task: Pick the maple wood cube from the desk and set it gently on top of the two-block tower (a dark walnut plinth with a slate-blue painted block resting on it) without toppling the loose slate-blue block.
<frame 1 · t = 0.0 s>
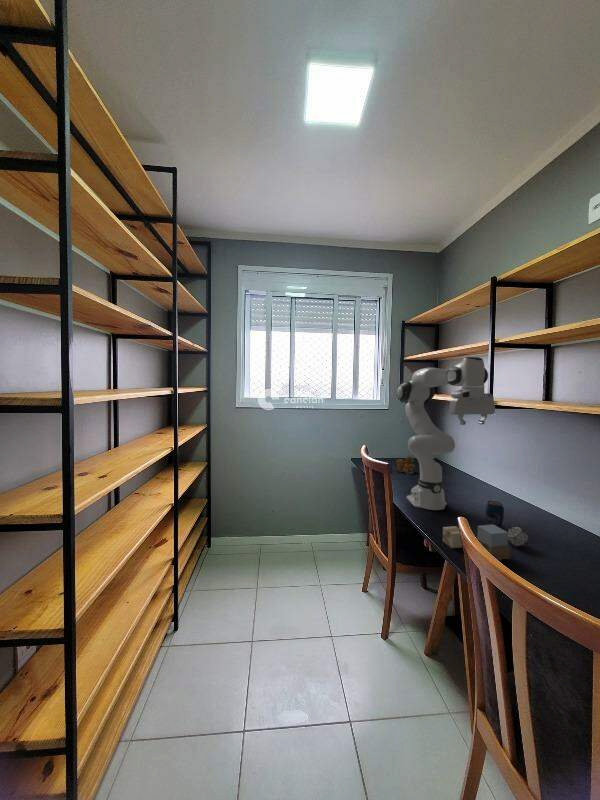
hand: (472, 424, 138), 48 cm above the table, fingers open, 8 cm apart
game die: (516, 546, 127), on the table
stuffed squirrel: (405, 473, 237), on the table
maple block: (453, 544, 129), on the table
walnut plinth: (491, 554, 120), on the table
soda can: (494, 529, 142), on the table
slate block: (492, 541, 120), point 5 cm above the table, touching walnut plinth
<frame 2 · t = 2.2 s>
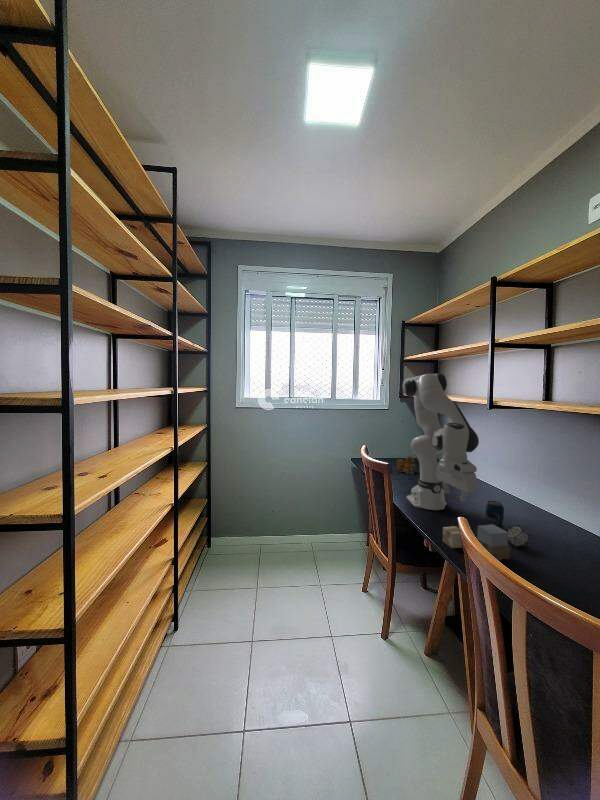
hand: (454, 496, 128), 20 cm above the table, fingers open, 8 cm apart
nothing on the table moved.
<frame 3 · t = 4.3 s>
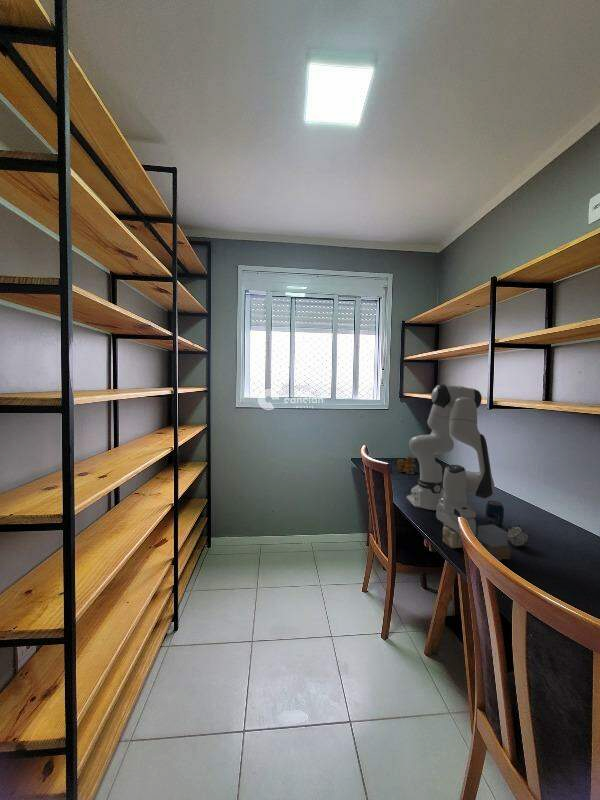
hand: (454, 538, 128), 2 cm above the table, fingers closed on maple block, 6 cm apart
maple block: (453, 543, 129), on the table, touching gripper
everything else where it was.
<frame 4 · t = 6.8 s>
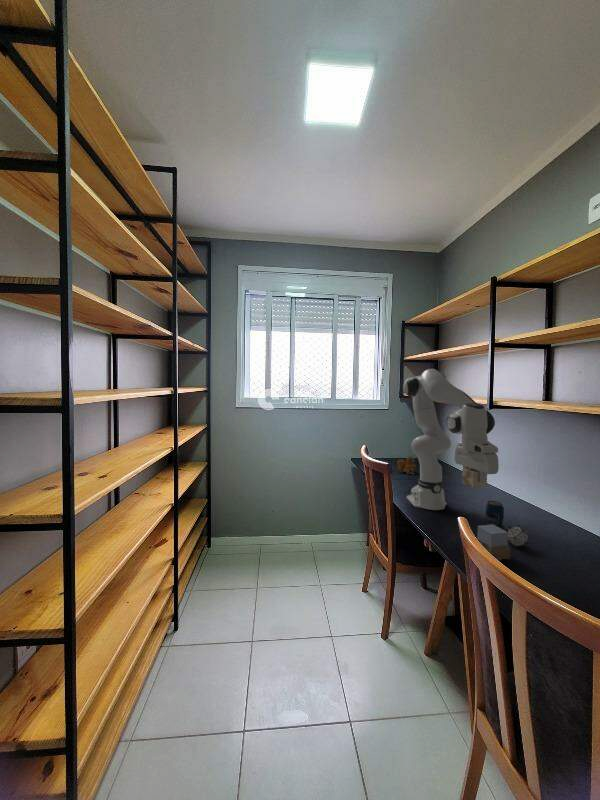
hand: (474, 480, 123), 28 cm above the table, fingers closed on maple block, 6 cm apart
maple block: (474, 485, 123), point 26 cm above the table, touching gripper
everything else where it was.
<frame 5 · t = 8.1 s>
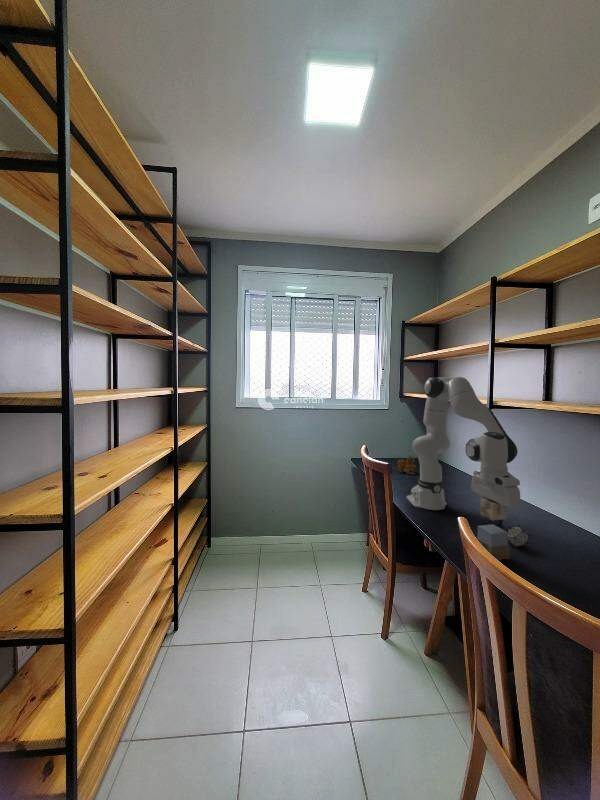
hand: (493, 511, 120), 17 cm above the table, fingers closed on maple block, 6 cm apart
maple block: (493, 516, 120), point 15 cm above the table, touching gripper
when the fingers open (13 cm above the table, at t = 9.4 s): maple block stays where it is, resting on slate block.
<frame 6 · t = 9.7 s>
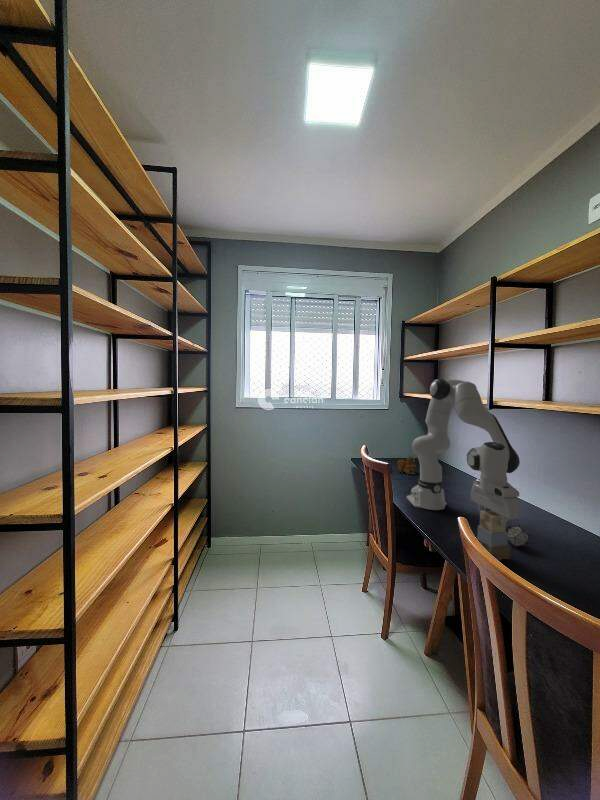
hand: (492, 521, 120), 13 cm above the table, fingers open, 8 cm apart
maple block: (492, 529, 120), point 10 cm above the table, touching slate block
slate block: (492, 541, 120), point 5 cm above the table, touching maple block, walnut plinth
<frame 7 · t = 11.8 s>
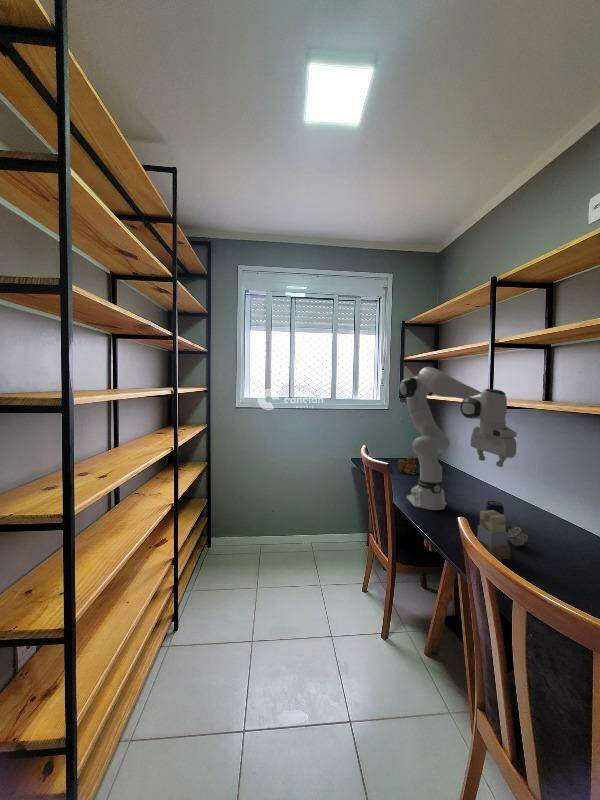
hand: (490, 463, 127), 34 cm above the table, fingers open, 8 cm apart
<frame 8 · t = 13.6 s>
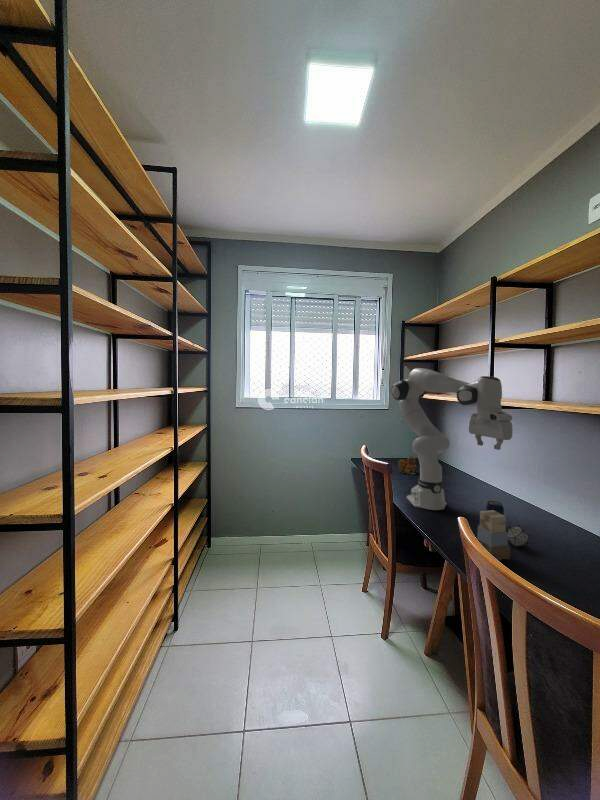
hand: (488, 447, 132), 39 cm above the table, fingers open, 8 cm apart
at the end: maple block 0.1 cm off-centre on the slate block, point 5.0 cm above the slate block's base; maple block tilted 0°; slate block 0.0 cm off-centre on the walnut plinth, point 5.0 cm above the walnut plinth's base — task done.
